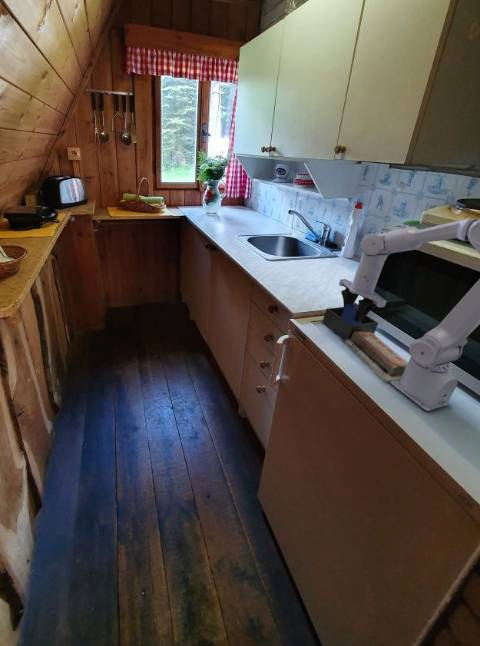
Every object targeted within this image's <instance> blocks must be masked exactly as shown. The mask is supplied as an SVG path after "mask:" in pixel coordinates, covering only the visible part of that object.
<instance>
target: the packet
mask: <svg viewBox="0 0 480 646" xmlns="http://www.w3.org/2000/svg"><path fill="white" fill-rule="evenodd" d="M358 307H359V303H356V302H355V303H350V304H346V305H345V308H344V311H343V314H342V317H341V319H343V320H344V321H346V322H347V323H349V324H350V325H357V324H361V323H362V321H361V322H357V321H355V320H356V315H357V312H358Z"/></svg>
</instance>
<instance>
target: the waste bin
mask: <svg viewBox="0 0 480 646" xmlns="http://www.w3.org/2000/svg"><path fill="white" fill-rule="evenodd" d="M343 311H344V306H338V307H337V306H336V307H328V308H326V309H325V312H324V315H323V318H322V324H324V326H325V327H327V328H328V329H330V330H331V331H333V332H334V333H335V334H336V335H338V336H339V337H341V338H342V339H343V340H344V341H345V340H346V339H351V337H352V336H353V333H354V332H370V333H372V334H374V335H375V333H376V331H377V328H378V325H379V322H378V321H376V320H375V319H373V318H372V317H370V316H368V314H367V315H366V316H365V318H364V319H363V320H362V323H361V324H357V325H350V324H349V323H347V322H346V321H344V320H343V319H341V317H342V314H343Z"/></svg>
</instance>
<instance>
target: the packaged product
mask: <svg viewBox="0 0 480 646" xmlns="http://www.w3.org/2000/svg"><path fill="white" fill-rule="evenodd" d="M344 343H345V344H346V345H347V347H349V348H350V349H351V350H352V351H353V352H354V354H356V355H357V356H358V358H360V359H361V360H362V362H363V363H365V364H366V365H367V366H368V367H369V368H370V369H371V370H372V371H373V372H374V373H375V374H376V375H377V376H378V377H379V378H380V379H381V380H382V381H383V382H384V383H390V382H391V381H398V380H400V379H401V377H402V375H403V373H404V371H405V368H406V366H407V364H408V362H407V361H405V360H404V359H403V358H402V357H401V356H399V355H398V354H397V352H395V351H394V350H393V349H391V347H389V345H387V344H386V343H385V342H383V341H382V339H380V338H379V337H378V336H376V335H375V333H374V334H372V333H370V332H354V333H353V336H352V337H351V339H346V340H345V339H344ZM390 384H391V383H390Z"/></svg>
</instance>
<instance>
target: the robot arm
mask: <svg viewBox="0 0 480 646" xmlns="http://www.w3.org/2000/svg"><path fill="white" fill-rule="evenodd" d="M455 239H458V240H460V241H463V242H469V243H470V245H472V247H473V248H474V249H475V250H476V251H477V252H478V253H479V254H480V218H479V217H478V218H465V219H460V220H455V221H451V222H448V223H443V224H440V225H439V224H438V225H435V226H430V227H427V228H422V229H419V228H417V227H416V226H410V225H407V224H405V225H400V227H399V228H398V229H394V230H389V229H387V230H386V229H385V230H382V233H372V232H371V233H368V234H367V235H365V236H364V237H363V238H362V239H361V242H360V248H361V251H362V254H361V257H360V260H359V263H358V266H357V268H356V271H355V274H354V276H353V281H352V280H351V281H350V280H349V279H346V278H340V279H339V282H338V286H340V287H343V288H345V289H342V290H341V292H340V293H341V296H342V302H343V307H344V308H345V305H346V304H350V303H356V301H357V299H358V297H359V296H360V297H361V298H363V299H358V305H359V307H358V312H357V315H356V320H355V321H357V322H361V321H362V320H363V319H364V318H365V316H366V315H367V316H368V314H369V313H370V312H371V311H372V310H373V309H374V308H376V307H378V308H385V307H386V304H387V302H388V300H386V299H385V298H383V297H382V296H381V295H379V294H378V293H376V292H375V289H376V286H377V283H378V281H379V277H380V275H381V272H382V270H383V267H384V264H385V261H387V258H388V256H390V255H391V254H395V253H396V254H397V253H402V252H408V251H414V250H415V251H416V250H418V249H419V248H421V246H422V245H423V244H424V243H432V242H440V241H446V240H455ZM479 325H480V278H479V279H478V280H477V281H476V282H475V283H474V284H473V286H472V287H471V288H470V289H469V290H468V291H467V292H466V293H465V295H464V296H463V297H462V298H461V299H460V300H459V302H458V303H457V304H456V305H455V306H454V307H453V308H452V309H451V310H450V312H449V313H448V314H447V315H446V316H445V317H444V318H443V319H442V321H441V322H440V323H439V324H438V325H437V326H436V327H435V326H434V328H431V330H429V331H427V332H426V333H425V334H424V335H423V336H422V337H420V338H417V339H414V340H412V341H411V342H410V344H409V346H408V352H409V356H410V357H409V359H408V362H407V363H408V364H407V366H406V368H405V371H404V373H403V375H402V377H401V379H400V380H398V381H391V382H390V384H391V385H392V386H393V387H394V388H395V389H397V390H398V391H400V392H401V393H402V394H404V395H405V396H406V397H407V398H409V399H410V400H411V401H412V402H414V403H415V404H416V405H418V406H419V407H420V408H421V409H422V410H424V411H426V412H429V411H433V410H436V409H439V408H442V407H446V406H449V401H450V399H451V397H452V396H453V394H454V391H455V390H456V388H457V386H458V383H459V381H458V379H457V378H456V377H455V376H454V375H452V373H451V372H450V371H449V369H450V364H451V362H455V361H457V360H458V359H459V358H460V357H462V354H463V349H464V346H465V345H467V344H468V340H467V338H468V337H469V336H470V335H471V333H473V332H474V331H475V329H476V328H478V326H479Z"/></svg>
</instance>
